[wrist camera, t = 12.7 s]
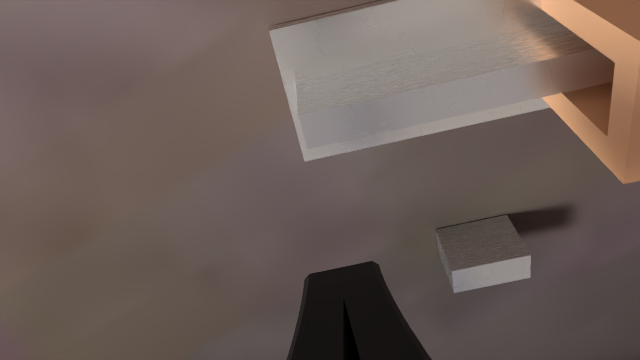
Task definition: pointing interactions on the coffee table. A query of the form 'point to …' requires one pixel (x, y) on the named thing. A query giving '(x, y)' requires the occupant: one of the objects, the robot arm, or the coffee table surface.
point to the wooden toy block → (483, 253)
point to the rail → (424, 68)
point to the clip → (610, 98)
